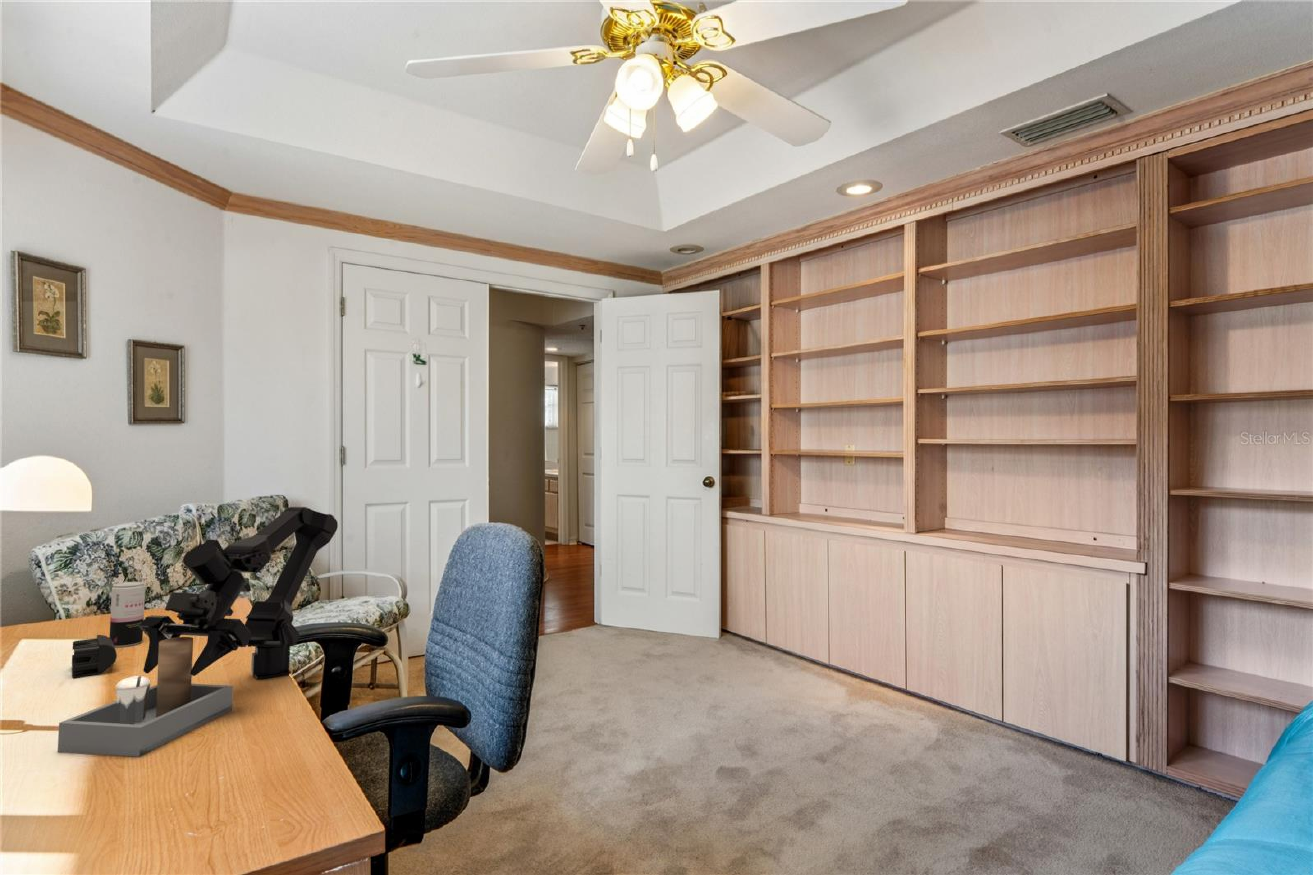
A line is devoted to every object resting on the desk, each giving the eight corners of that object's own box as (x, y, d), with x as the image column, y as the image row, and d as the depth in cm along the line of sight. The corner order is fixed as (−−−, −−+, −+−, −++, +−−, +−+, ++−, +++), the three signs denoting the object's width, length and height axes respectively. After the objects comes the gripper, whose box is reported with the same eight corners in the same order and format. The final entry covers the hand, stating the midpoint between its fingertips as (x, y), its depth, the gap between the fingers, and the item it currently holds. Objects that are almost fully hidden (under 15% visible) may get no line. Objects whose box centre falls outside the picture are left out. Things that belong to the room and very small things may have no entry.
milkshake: (119, 742, 107) (122, 679, 107) (110, 733, 110) (113, 672, 111) (153, 734, 111) (156, 673, 111) (143, 725, 114) (146, 666, 114)
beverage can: (104, 645, 165) (107, 584, 166) (135, 639, 171) (138, 580, 172) (115, 649, 162) (118, 587, 163) (147, 643, 168) (150, 583, 168)
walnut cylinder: (179, 706, 123) (182, 635, 123) (196, 711, 121) (199, 639, 121) (149, 716, 118) (152, 642, 119) (166, 721, 116) (169, 645, 117)
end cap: (116, 673, 144) (117, 641, 145) (72, 680, 140) (74, 647, 140) (112, 662, 152) (114, 632, 152) (71, 668, 147) (73, 637, 147)
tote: (162, 706, 125) (163, 682, 126) (231, 710, 124) (232, 685, 124) (57, 751, 106) (59, 722, 106) (139, 756, 104) (140, 727, 104)
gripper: (150, 572, 125) (92, 647, 114) (243, 575, 123) (194, 652, 112) (181, 605, 133) (130, 679, 121) (270, 609, 131) (226, 684, 119)
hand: (168, 673), depth 118 cm, fingers open, 9 cm apart
